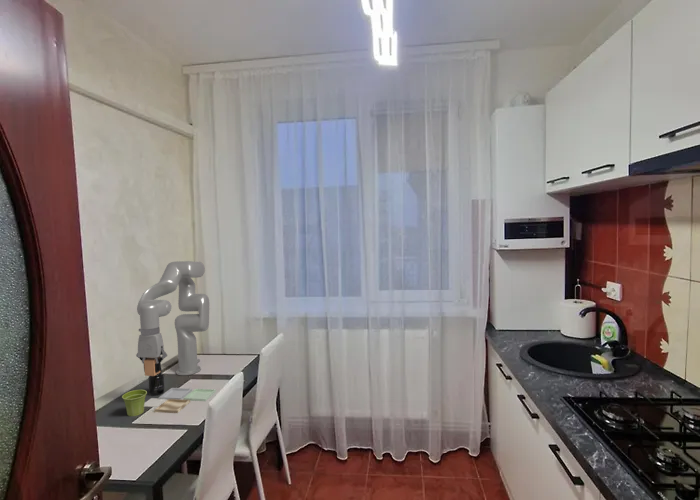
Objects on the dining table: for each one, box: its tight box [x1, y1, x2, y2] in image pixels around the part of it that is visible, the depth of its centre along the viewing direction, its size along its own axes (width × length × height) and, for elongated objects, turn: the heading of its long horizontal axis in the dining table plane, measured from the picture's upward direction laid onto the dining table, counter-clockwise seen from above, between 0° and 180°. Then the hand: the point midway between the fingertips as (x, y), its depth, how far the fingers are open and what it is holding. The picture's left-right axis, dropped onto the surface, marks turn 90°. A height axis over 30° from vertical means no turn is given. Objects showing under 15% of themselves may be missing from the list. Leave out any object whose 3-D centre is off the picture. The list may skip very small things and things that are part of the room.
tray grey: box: [158, 387, 193, 400], centre depth 191 cm, size 11×11×2 cm
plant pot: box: [121, 389, 148, 417], centre depth 173 cm, size 9×9×9 cm
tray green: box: [182, 388, 217, 402], centre depth 190 cm, size 11×11×2 cm
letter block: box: [143, 358, 160, 377], centre depth 182 cm, size 4×5×7 cm
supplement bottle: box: [147, 368, 166, 397], centre depth 194 cm, size 7×7×12 cm
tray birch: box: [153, 399, 191, 414], centre depth 179 cm, size 11×11×2 cm
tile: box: [144, 397, 166, 408], centre depth 183 cm, size 8×8×1 cm
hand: (152, 370), depth 182 cm, fingers closed on letter block, 4 cm apart
